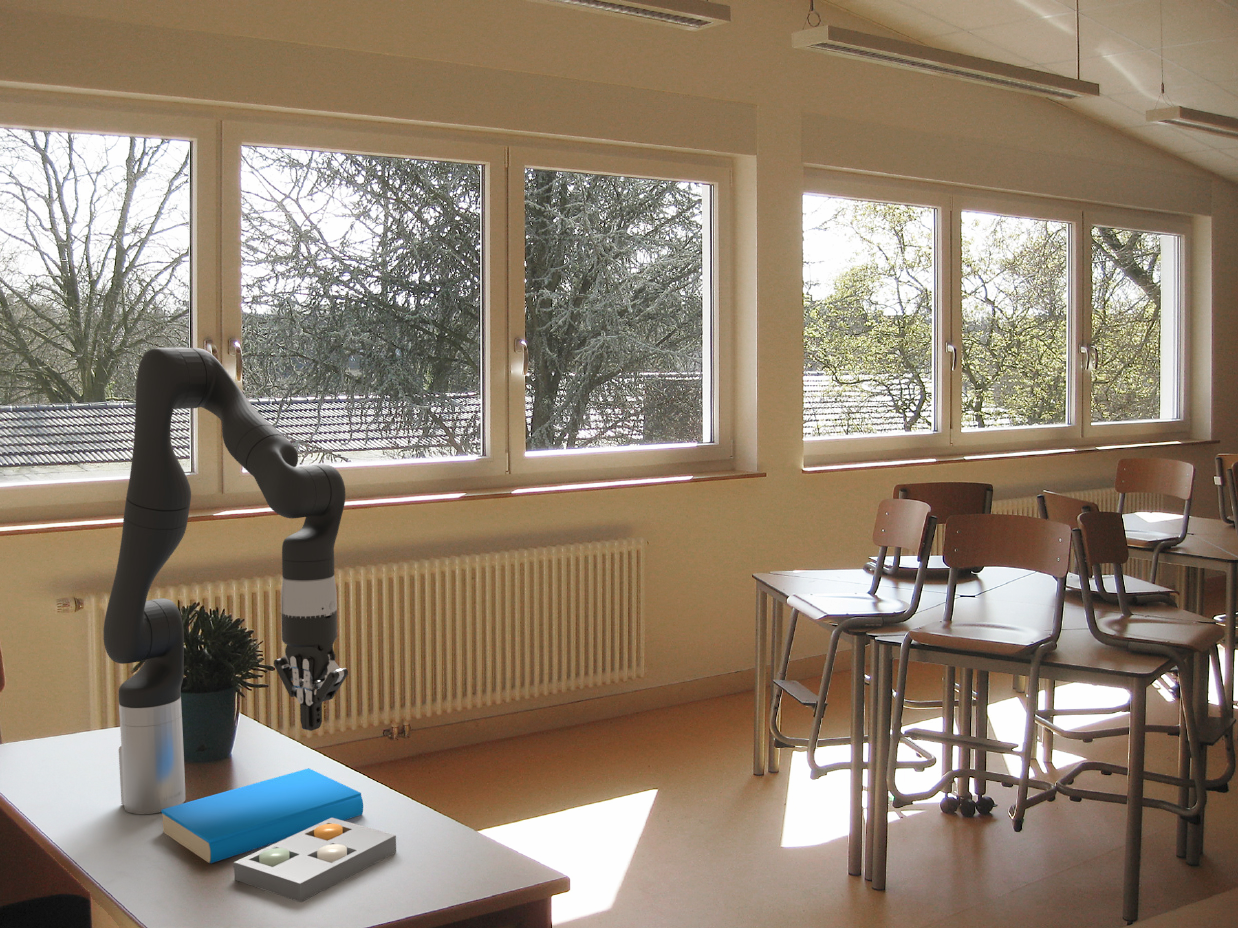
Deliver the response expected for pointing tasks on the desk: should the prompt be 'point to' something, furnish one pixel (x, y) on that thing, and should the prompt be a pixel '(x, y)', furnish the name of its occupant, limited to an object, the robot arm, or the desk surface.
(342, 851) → the button ivory
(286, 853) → the button sage
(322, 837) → the button orange
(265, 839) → the book
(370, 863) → the panel
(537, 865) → the desk surface
